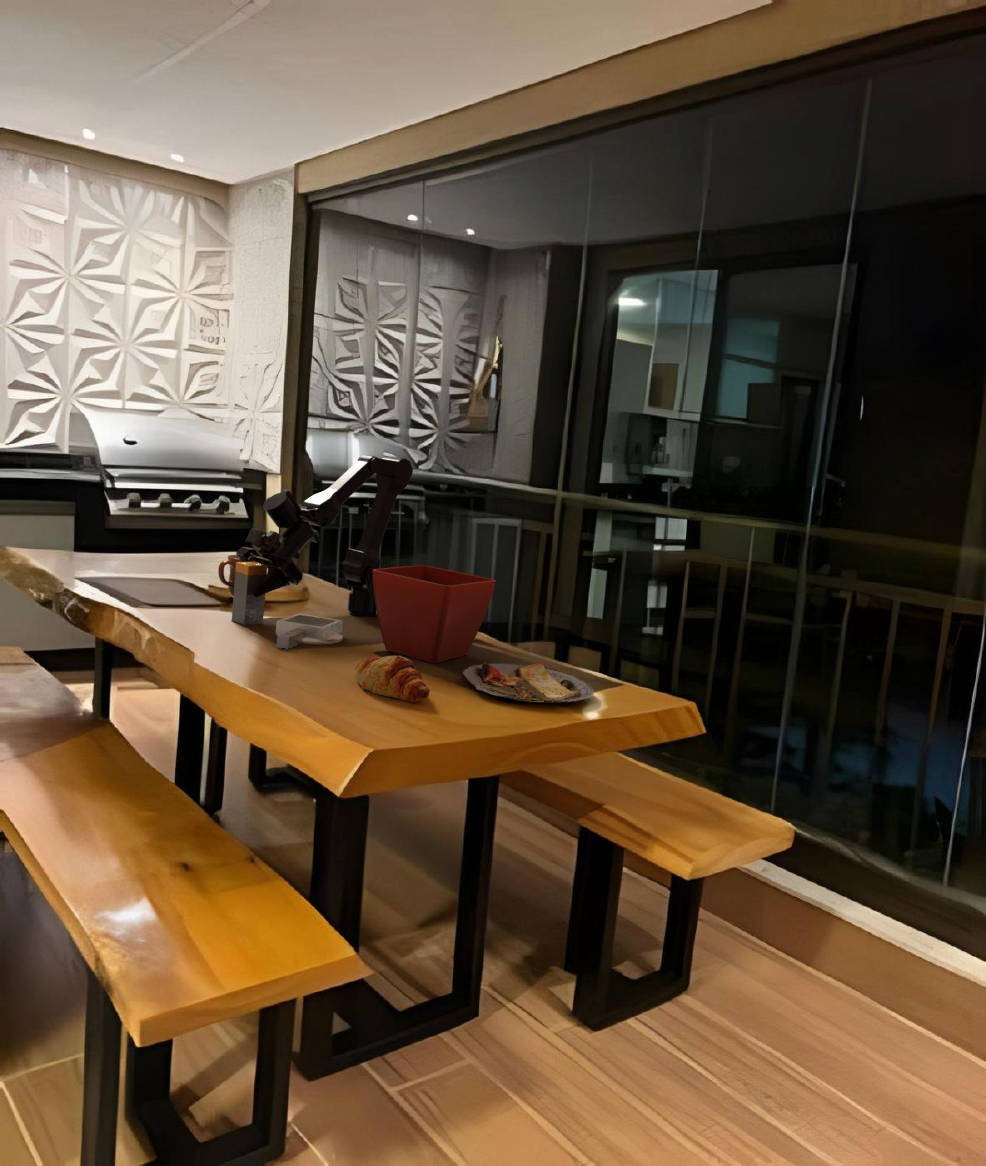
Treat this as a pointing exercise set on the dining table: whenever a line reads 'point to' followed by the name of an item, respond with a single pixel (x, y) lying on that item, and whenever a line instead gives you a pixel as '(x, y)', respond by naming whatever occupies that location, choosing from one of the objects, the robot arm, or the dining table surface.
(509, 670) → the food plate
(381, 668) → the croissant
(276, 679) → the dining table surface
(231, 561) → the mug
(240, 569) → the orange square peg
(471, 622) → the plant pot
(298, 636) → the square socket
